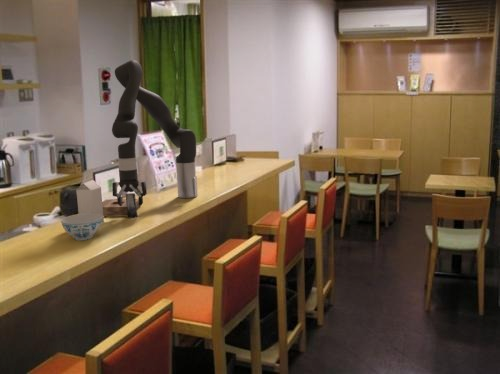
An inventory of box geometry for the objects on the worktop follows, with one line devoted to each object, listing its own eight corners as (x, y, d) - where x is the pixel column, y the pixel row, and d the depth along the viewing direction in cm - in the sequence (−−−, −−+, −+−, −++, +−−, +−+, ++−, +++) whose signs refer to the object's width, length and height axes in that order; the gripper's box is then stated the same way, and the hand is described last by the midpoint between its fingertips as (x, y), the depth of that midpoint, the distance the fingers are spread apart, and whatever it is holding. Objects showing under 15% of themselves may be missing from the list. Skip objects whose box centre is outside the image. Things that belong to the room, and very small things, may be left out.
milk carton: (104, 222, 244) (100, 177, 240) (94, 226, 237) (90, 180, 233) (89, 221, 246) (85, 177, 242) (79, 225, 239) (75, 180, 236)
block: (140, 207, 269) (139, 198, 268) (131, 215, 253) (130, 206, 253) (106, 207, 270) (105, 199, 269) (95, 216, 254) (94, 207, 254)
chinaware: (93, 244, 212) (91, 223, 211) (55, 243, 215) (53, 223, 213) (110, 232, 227) (108, 213, 225) (74, 232, 229) (72, 213, 228)
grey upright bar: (138, 215, 253) (136, 193, 251) (135, 217, 249) (133, 194, 247) (128, 215, 253) (127, 193, 251) (126, 218, 249) (124, 195, 248)
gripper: (146, 166, 250) (149, 203, 253) (114, 167, 252) (116, 204, 255) (142, 169, 243) (144, 207, 246) (108, 170, 244) (111, 207, 247)
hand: (130, 205), depth 250 cm, fingers open, 8 cm apart
